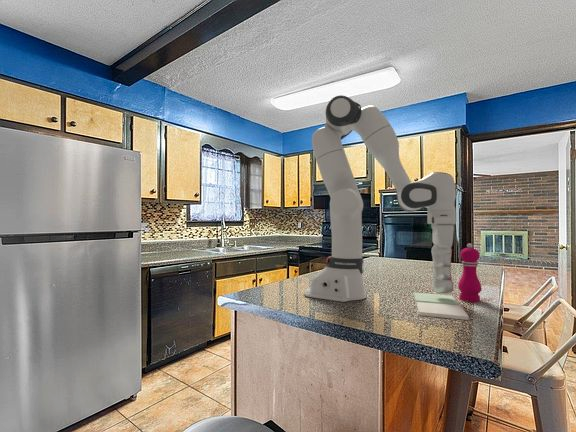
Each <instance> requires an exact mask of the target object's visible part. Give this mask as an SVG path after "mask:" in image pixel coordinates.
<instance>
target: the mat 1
mask: <svg viewBox="0 0 576 432" xmlns="http://www.w3.org/2000/svg"><path fill="white" fill-rule="evenodd" d="M413 297H414V303H416V302H425V303H436V304H448V305H459V306H460V304H459V302H458V301H457V300H456V298H455V296H454V295H451V294H450V295H449V294H440V293H425V292H413Z"/></svg>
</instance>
